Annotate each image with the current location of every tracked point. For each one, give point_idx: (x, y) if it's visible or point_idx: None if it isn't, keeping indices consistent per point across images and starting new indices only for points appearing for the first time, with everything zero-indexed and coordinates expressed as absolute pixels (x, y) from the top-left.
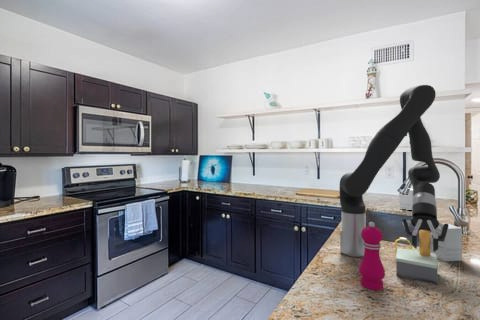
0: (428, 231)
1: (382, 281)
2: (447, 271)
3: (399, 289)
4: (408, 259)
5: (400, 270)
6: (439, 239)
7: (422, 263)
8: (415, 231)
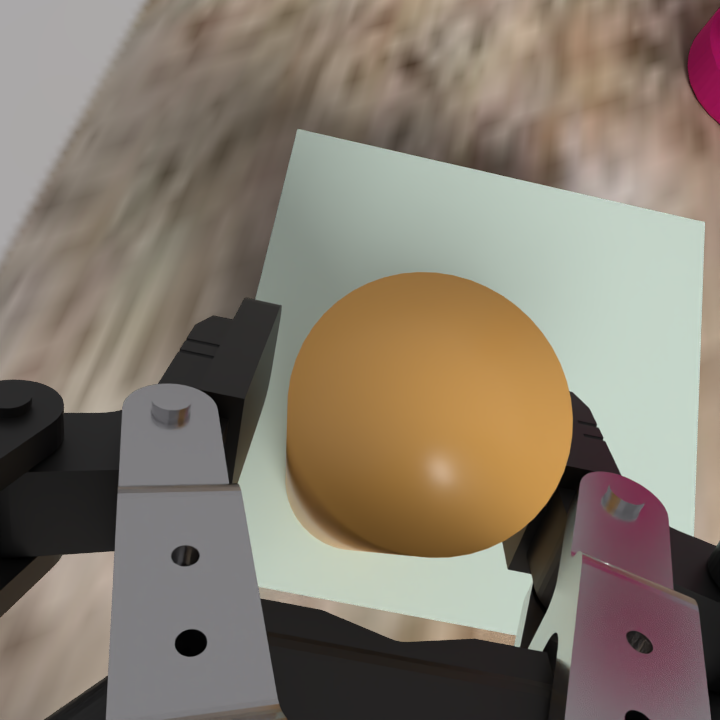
0: (342, 389)
1: (717, 39)
2: (88, 605)
3: (584, 75)
4: (576, 220)
5: None
6: (104, 431)
7: (442, 166)
8: (620, 554)
